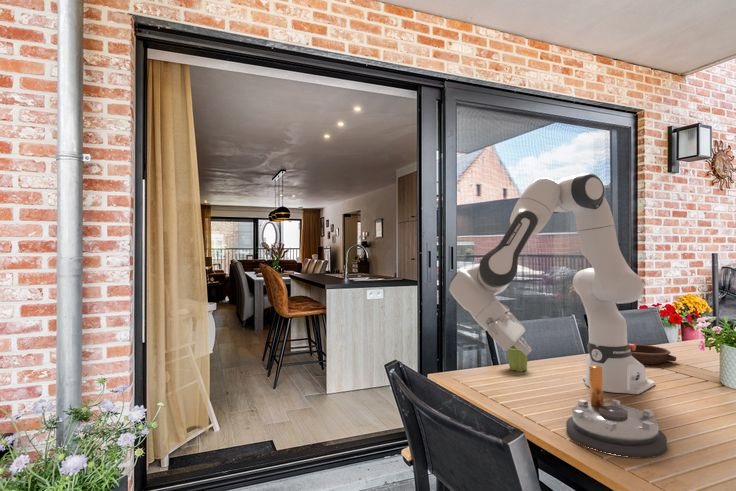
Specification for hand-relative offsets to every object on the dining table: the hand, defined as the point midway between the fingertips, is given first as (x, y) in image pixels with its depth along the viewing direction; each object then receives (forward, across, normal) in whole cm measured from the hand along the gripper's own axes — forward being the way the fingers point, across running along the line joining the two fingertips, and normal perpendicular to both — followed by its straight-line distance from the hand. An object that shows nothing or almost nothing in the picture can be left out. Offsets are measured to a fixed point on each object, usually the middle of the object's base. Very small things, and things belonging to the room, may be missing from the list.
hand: (529, 352), depth 118 cm
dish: (+35, +75, -10) cm, 84 cm away
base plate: (+26, -7, -2) cm, 27 cm away
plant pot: (+5, +44, +20) cm, 48 cm away
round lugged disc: (+25, -7, -3) cm, 26 cm away
